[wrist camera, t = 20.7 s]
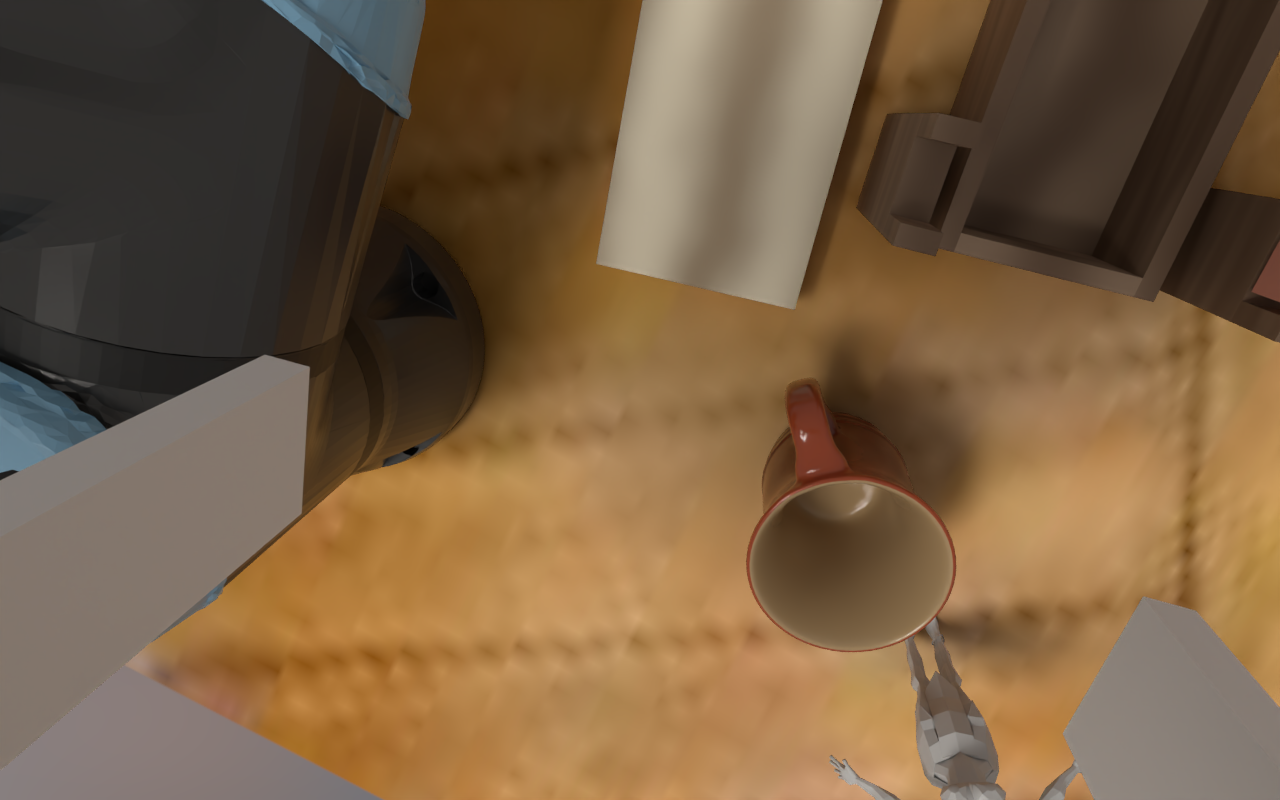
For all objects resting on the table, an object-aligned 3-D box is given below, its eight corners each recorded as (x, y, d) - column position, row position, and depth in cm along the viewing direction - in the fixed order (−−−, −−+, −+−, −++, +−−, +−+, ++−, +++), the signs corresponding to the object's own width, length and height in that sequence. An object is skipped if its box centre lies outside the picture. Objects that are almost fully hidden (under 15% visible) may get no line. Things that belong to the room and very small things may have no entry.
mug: (927, 517, 42) (974, 635, 32) (774, 548, 44) (775, 667, 35) (879, 316, 38) (916, 382, 29) (715, 361, 41) (699, 435, 31)
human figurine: (1026, 591, 42) (1193, 897, 26) (1031, 646, 44) (1193, 972, 27) (812, 613, 45) (838, 902, 29) (821, 664, 46) (852, 970, 30)
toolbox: (854, 213, 37) (889, 254, 26) (962, -118, 32) (1062, -237, 21) (1151, 287, 36) (1314, 360, 25) (1314, -41, 31) (1609, -125, 20)
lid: (607, 253, 40) (596, 263, 37) (666, -68, 34) (657, -84, 32) (792, 296, 39) (794, 309, 36) (883, -25, 34) (893, -38, 31)
